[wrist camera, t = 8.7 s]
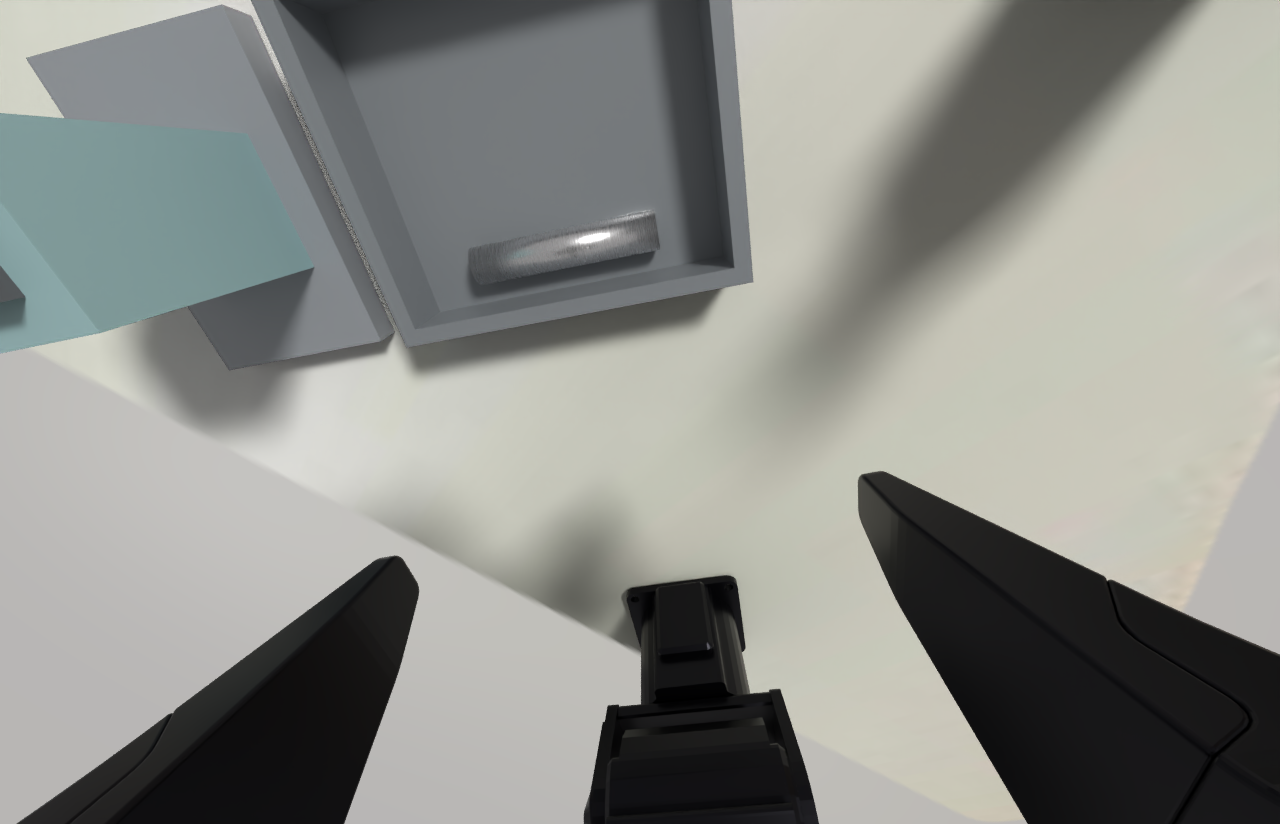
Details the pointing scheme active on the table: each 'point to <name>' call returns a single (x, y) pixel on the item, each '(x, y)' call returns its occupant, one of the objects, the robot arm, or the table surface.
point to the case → (523, 145)
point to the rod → (564, 248)
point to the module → (129, 224)
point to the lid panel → (258, 105)
